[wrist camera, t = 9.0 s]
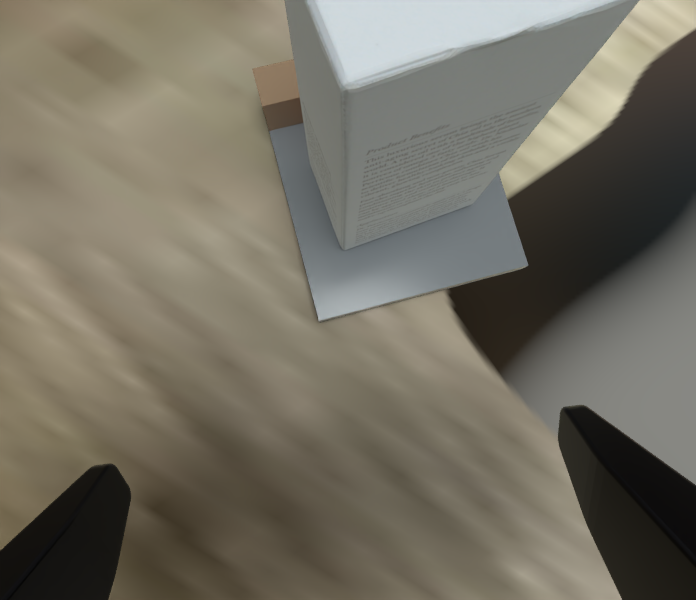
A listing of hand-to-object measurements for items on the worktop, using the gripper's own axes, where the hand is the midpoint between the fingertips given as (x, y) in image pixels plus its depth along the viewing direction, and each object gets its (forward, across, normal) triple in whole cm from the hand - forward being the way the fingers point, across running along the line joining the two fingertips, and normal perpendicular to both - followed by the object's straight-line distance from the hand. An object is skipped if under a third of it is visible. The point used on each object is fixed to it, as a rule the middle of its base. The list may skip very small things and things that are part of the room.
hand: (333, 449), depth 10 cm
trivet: (+14, -2, 0) cm, 14 cm away
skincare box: (+14, -2, 0) cm, 14 cm away
